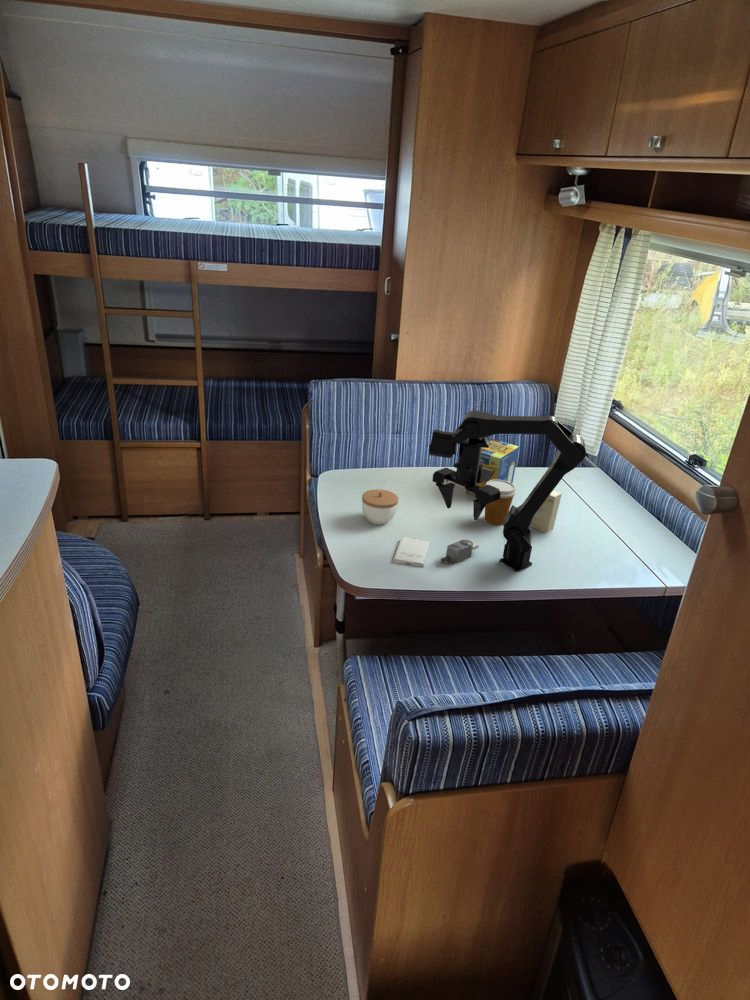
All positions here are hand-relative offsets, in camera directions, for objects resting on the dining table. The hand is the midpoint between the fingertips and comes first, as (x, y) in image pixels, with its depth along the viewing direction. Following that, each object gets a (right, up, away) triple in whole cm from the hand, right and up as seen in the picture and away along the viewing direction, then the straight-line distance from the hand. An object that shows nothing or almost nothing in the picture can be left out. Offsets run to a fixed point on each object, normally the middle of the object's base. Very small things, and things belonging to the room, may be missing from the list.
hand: (462, 514), depth 175 cm
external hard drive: (-13, -11, +4) cm, 18 cm away
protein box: (+15, +7, +45) cm, 48 cm away
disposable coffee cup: (+13, -3, +25) cm, 28 cm away
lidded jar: (-22, -2, +20) cm, 30 cm away
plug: (-1, -12, +3) cm, 12 cm away
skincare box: (+27, -5, +23) cm, 36 cm away
